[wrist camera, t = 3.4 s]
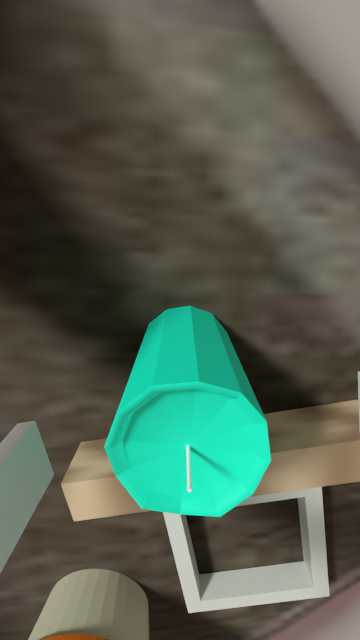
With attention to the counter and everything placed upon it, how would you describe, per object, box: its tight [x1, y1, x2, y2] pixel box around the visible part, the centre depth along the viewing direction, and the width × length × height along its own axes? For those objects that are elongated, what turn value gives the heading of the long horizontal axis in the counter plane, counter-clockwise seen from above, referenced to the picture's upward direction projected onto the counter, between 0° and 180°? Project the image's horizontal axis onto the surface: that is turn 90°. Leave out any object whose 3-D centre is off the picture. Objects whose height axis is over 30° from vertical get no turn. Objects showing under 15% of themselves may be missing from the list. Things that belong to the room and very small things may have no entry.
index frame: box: [163, 487, 329, 613], centre depth 24 cm, size 11×11×2 cm
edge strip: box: [61, 399, 360, 521], centre depth 21 cm, size 22×3×4 cm, turn 100°
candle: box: [104, 306, 271, 517], centre depth 15 cm, size 6×6×12 cm
